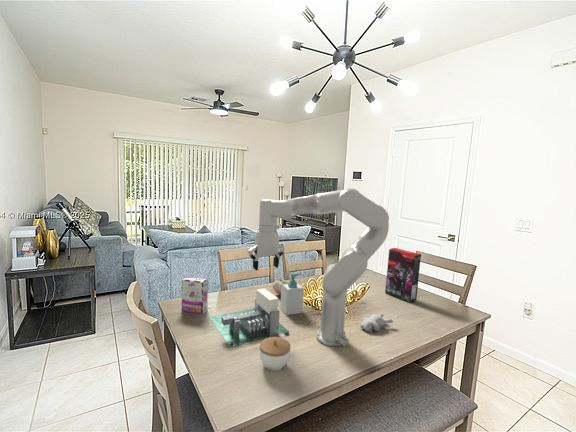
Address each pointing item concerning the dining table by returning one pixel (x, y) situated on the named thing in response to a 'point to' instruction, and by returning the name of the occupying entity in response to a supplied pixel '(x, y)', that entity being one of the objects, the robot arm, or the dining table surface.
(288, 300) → the soap bottle
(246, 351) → the dining table surface
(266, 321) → the green base metal fixture
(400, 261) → the graphics card box
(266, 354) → the lidded jar
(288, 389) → the dining table surface
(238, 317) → the grey capped bar
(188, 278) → the candy bar box
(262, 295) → the plain white rectangular block
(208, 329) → the dining table surface
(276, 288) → the decorative fruit
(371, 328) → the bunny figurine
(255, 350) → the dining table surface
